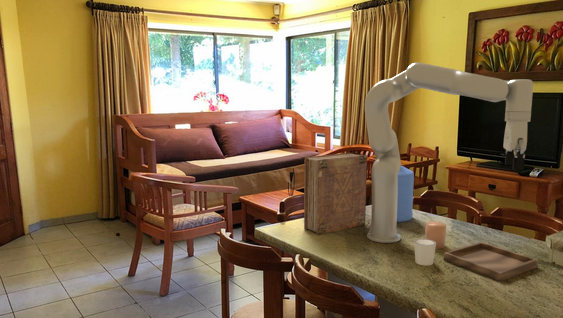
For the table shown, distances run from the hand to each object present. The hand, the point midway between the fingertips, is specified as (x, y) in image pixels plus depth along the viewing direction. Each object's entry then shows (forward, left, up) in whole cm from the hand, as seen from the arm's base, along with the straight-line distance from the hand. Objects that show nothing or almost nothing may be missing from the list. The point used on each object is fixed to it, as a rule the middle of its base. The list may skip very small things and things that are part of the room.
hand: (513, 167), depth 149 cm
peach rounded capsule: (-18, -16, -30) cm, 38 cm away
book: (-55, -33, -30) cm, 71 cm away
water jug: (-52, -2, -30) cm, 60 cm away
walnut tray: (+3, -15, -30) cm, 34 cm away
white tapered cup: (-9, -32, -30) cm, 45 cm away
